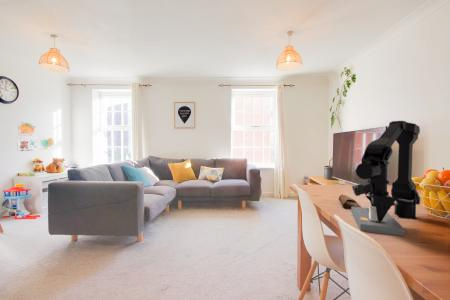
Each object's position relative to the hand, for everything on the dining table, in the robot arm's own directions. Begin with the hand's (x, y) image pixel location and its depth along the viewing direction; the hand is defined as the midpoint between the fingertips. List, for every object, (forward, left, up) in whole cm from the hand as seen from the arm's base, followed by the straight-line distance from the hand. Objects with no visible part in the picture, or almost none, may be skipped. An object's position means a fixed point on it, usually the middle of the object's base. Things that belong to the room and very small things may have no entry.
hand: (377, 218), depth 89 cm
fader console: (0, -6, -4) cm, 7 cm away
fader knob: (0, 0, -1) cm, 1 cm away
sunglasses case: (+6, -33, -4) cm, 34 cm away
